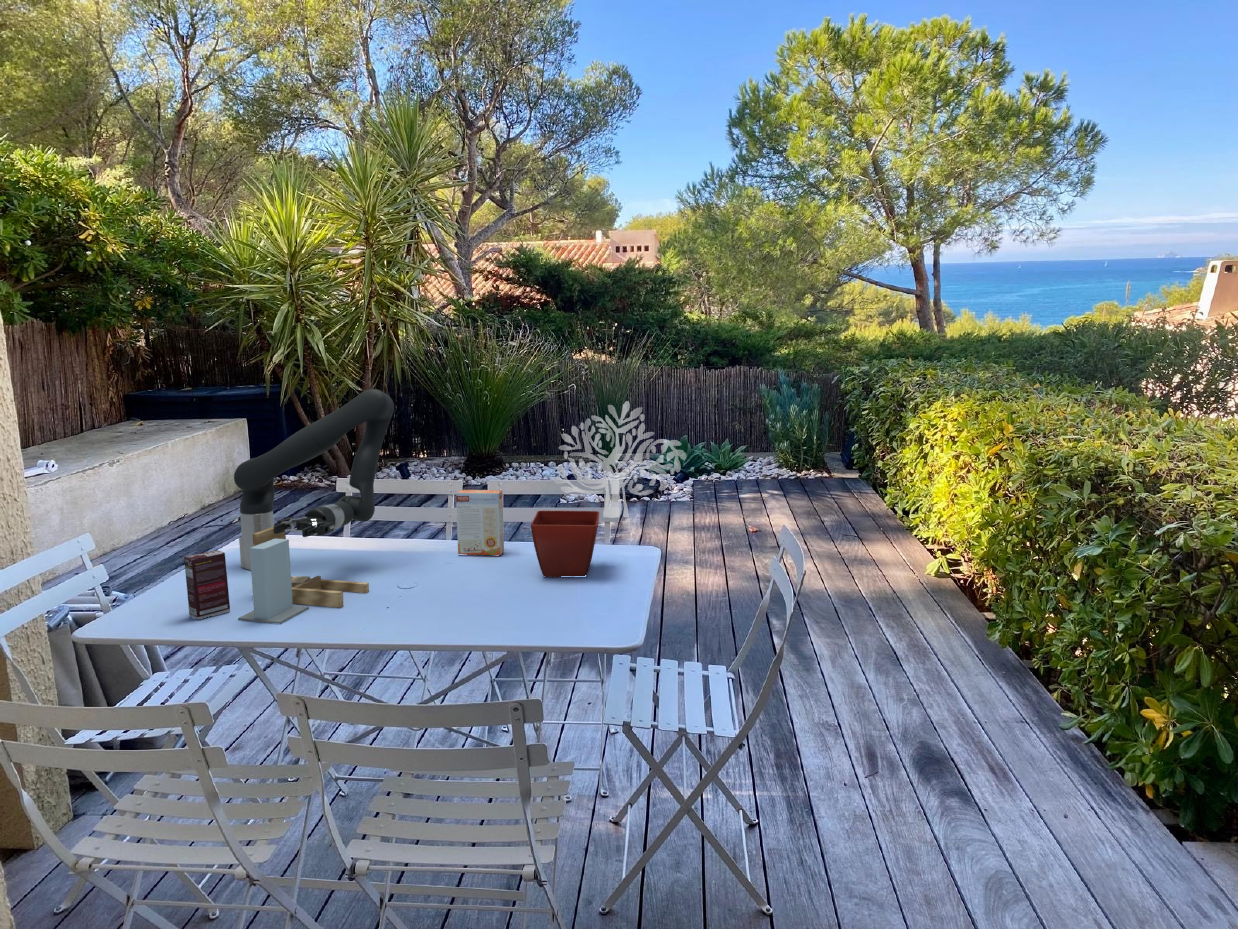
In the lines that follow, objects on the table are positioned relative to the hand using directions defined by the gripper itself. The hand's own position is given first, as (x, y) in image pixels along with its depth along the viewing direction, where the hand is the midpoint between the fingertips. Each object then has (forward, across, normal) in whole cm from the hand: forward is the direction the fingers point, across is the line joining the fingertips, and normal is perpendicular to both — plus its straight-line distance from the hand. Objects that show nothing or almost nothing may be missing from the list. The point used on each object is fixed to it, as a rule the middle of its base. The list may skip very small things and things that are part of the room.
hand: (289, 531), depth 224 cm
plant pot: (-47, +62, +16) cm, 79 cm away
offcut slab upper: (-8, -3, +18) cm, 20 cm away
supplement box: (+13, -15, +21) cm, 28 cm away
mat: (+9, +1, +20) cm, 22 cm away
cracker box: (-60, +29, +18) cm, 69 cm away
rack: (-7, +2, +19) cm, 21 cm away
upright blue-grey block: (+8, +1, +19) cm, 21 cm away
